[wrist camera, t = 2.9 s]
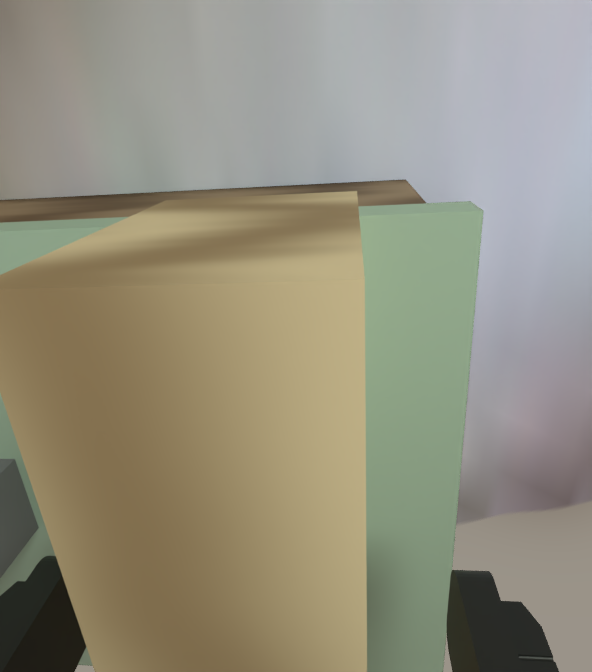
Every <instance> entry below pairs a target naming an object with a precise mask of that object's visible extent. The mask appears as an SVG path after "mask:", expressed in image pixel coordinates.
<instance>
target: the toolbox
mask: <svg viewBox="0 0 592 672" xmlns="http://www.w3.org/2000/svg"><path fill="white" fill-rule="evenodd" d="M347 191H357V197H358V206H380V205H402V204H424V203H426V202H425V201H424V200H423V199H422V198H421V197H420V195H419V194H418V193H417V192H416V191H415V190H414V189H413V187H412V186H411V185H410V184H409V183H408V182H407V181H406V180H389V181H370V182H350V183H330V184H311V185H291V186H272V187H252V188H232V189H213V190H193V191H173V192H154V193H134V194H114V195H95V196H75V197H55V198H36V199H16V200H0V223H4V222H26V221H49V220H71V219H93V218H115V217H130V216H132V215H134V214H137V213H139V212H141V211H143V210H146V209H148V208H150V207H152V206H154V205H157V204H159V203H161V202H163V201H166V200H183V199H203V198H224V197H244V196H265V195H285V194H306V193H326V192H347Z"/></svg>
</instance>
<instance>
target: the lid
mask: <svg viewBox="0 0 592 672" xmlns="http://www.w3.org/2000/svg"><path fill="white" fill-rule="evenodd" d="M358 208H359V219H360V231H361V242H362V253H363V264H364V276H365V395H366V565H367V672H443V667H444V655H445V644H446V633H447V610H448V599H449V588H450V577H451V572H452V563H453V552H454V541H455V529H456V518H457V507H458V495H459V484H460V472H461V461H462V449H463V438H464V426H465V415H466V404H467V392H468V381H469V369H470V358H471V346H472V335H473V323H474V312H475V300H476V289H477V277H478V266H479V255H480V243H481V232H482V220H483V210H482V209H480V208H479V207H477V206H476V205H475V204H473V203H472V202H470V201H468V202H446V203H424V204H402V205H380V206H358ZM126 218H128V217H115V218H93V219H71V220H49V221H26V222H4V223H0V275H1V274H3V273H6V272H8V271H10V270H12V269H15V268H17V267H19V266H21V265H23V264H26V263H28V262H30V261H32V260H35V259H37V258H39V257H41V256H43V255H46V254H48V253H50V252H52V251H55V250H57V249H59V248H61V247H63V246H66V245H68V244H70V243H72V242H75V241H77V240H79V239H81V238H83V237H86V236H88V235H90V234H92V233H95V232H97V231H99V230H101V229H103V228H106V227H108V226H110V225H112V224H114V223H117V222H119V221H121V220H123V219H126ZM45 556H55V553H54V550H53V547H52V544H51V541H50V538H49V535H48V532H47V529H46V526H45V523H44V520H43V517H42V514H41V511H40V508H39V505H38V503H37V500H36V497H35V494H34V491H33V488H32V485H31V482H30V479H29V476H28V473H27V470H26V467H25V464H24V461H23V458H22V455H21V452H20V450H19V447H18V444H17V441H16V438H15V435H14V432H13V429H12V426H11V423H10V420H9V417H8V414H7V411H6V408H5V405H4V402H3V399H2V397H1V394H0V596H1V595H2V594H3V593H4V592H5V591H6V590H8V589H9V588H10V587H11V586H12V585H13V584H15V583H16V582H17V581H26V580H27V578H28V577H29V575H30V574H31V573H32V571H33V570H34V568H35V567H36V565H37V564H38V563H39V561H40V560H41V559H42V558H44V557H45ZM78 665H90V666H93V665H92V662H91V659H90V656H89V653H88V650H87V647H86V649H85V651H84V653H83V655H82V657H81V659H80V661H79V663H78Z"/></svg>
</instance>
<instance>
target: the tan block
mask: <svg viewBox="0 0 592 672" xmlns="http://www.w3.org/2000/svg"><path fill="white" fill-rule="evenodd" d="M0 394H1V397H2V399H3V402H4V405H5V408H6V411H7V414H8V417H9V420H10V423H11V426H12V429H13V432H14V435H15V438H16V441H17V444H18V447H19V450H20V452H21V455H22V458H23V461H24V464H25V467H26V470H27V473H28V476H29V479H30V482H31V485H32V488H33V491H34V494H35V497H36V500H37V503H38V505H39V508H40V511H41V514H42V517H43V520H44V523H45V526H46V529H47V532H48V535H49V538H50V541H51V544H52V547H53V550H54V553H55V556H56V558H57V561H58V564H59V567H60V570H61V573H62V576H63V579H64V582H65V585H66V588H67V591H68V594H69V597H70V600H71V603H72V606H73V609H74V612H75V614H76V617H77V620H78V623H79V626H80V629H81V632H82V635H83V638H84V641H85V644H86V647H87V650H88V653H89V656H90V659H91V662H92V665H93V667H94V670H95V672H367V565H366V395H365V276H364V264H363V253H362V242H361V231H360V219H359V208H358V197H357V191H347V192H326V193H306V194H285V195H265V196H244V197H224V198H203V199H183V200H166V201H163V202H161V203H159V204H157V205H154V206H152V207H150V208H148V209H146V210H143V211H141V212H139V213H137V214H134V215H132V216H130V217H128V218H126V219H123V220H121V221H119V222H117V223H114V224H112V225H110V226H108V227H106V228H103V229H101V230H99V231H97V232H95V233H92V234H90V235H88V236H86V237H83V238H81V239H79V240H77V241H75V242H72V243H70V244H68V245H66V246H63V247H61V248H59V249H57V250H55V251H52V252H50V253H48V254H46V255H43V256H41V257H39V258H37V259H35V260H32V261H30V262H28V263H26V264H23V265H21V266H19V267H17V268H15V269H12V270H10V271H8V272H6V273H3V274H1V275H0Z"/></svg>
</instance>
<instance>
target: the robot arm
mask: <svg viewBox="0 0 592 672" xmlns="http://www.w3.org/2000/svg"><path fill="white" fill-rule="evenodd" d="M447 641H448V649H449V654H450V660H451V666H452V670H453V672H559V671H558V668H557V666H556V663H555V662H554V661H553V655H552V653H551V650H550V647H549V645H548V642H547V640H546V637H545V635H544V632H543V629H542V627H541V626H540V624H539V623H538V622H537V621H536V620H535V618H534V617H533V616H532V615H531V613H530V612H529V611H528V610H527V609H526V607H525V606H524V605H523V604H522V603H521V602H510V601H501V600H500V597H499V594H498V591H497V588H496V585H495V582H494V579H493V576H492V575H491V573H490V572H489V571H465V570H464V571H463V570H452V572H451V577H450V588H449V599H448V610H447ZM85 649H86V644H85V641H84V638H83V635H82V632H81V629H80V626H79V623H78V620H77V617H76V614H75V612H74V609H73V606H72V603H71V600H70V597H69V594H68V591H67V588H66V585H65V582H64V579H63V576H62V573H61V570H60V567H59V564H58V561H57V558H56V556H45V557H44V558H42V559H41V560H40V561H39V563H38V564H37V565H36V567H35V568H34V570H33V571H32V573H31V574H30V575H29V577H28V578H27V580H26V581H17V582H16V583H15V584H13V585H12V586H11V587H10V588H9V589H8V590H6V591H5V592H4V593H3V594H2V595H1V596H0V672H74V671H75V669H76V667H77V665H78V663H79V661H80V659H81V657H82V655H83V653H84V651H85Z"/></svg>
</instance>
